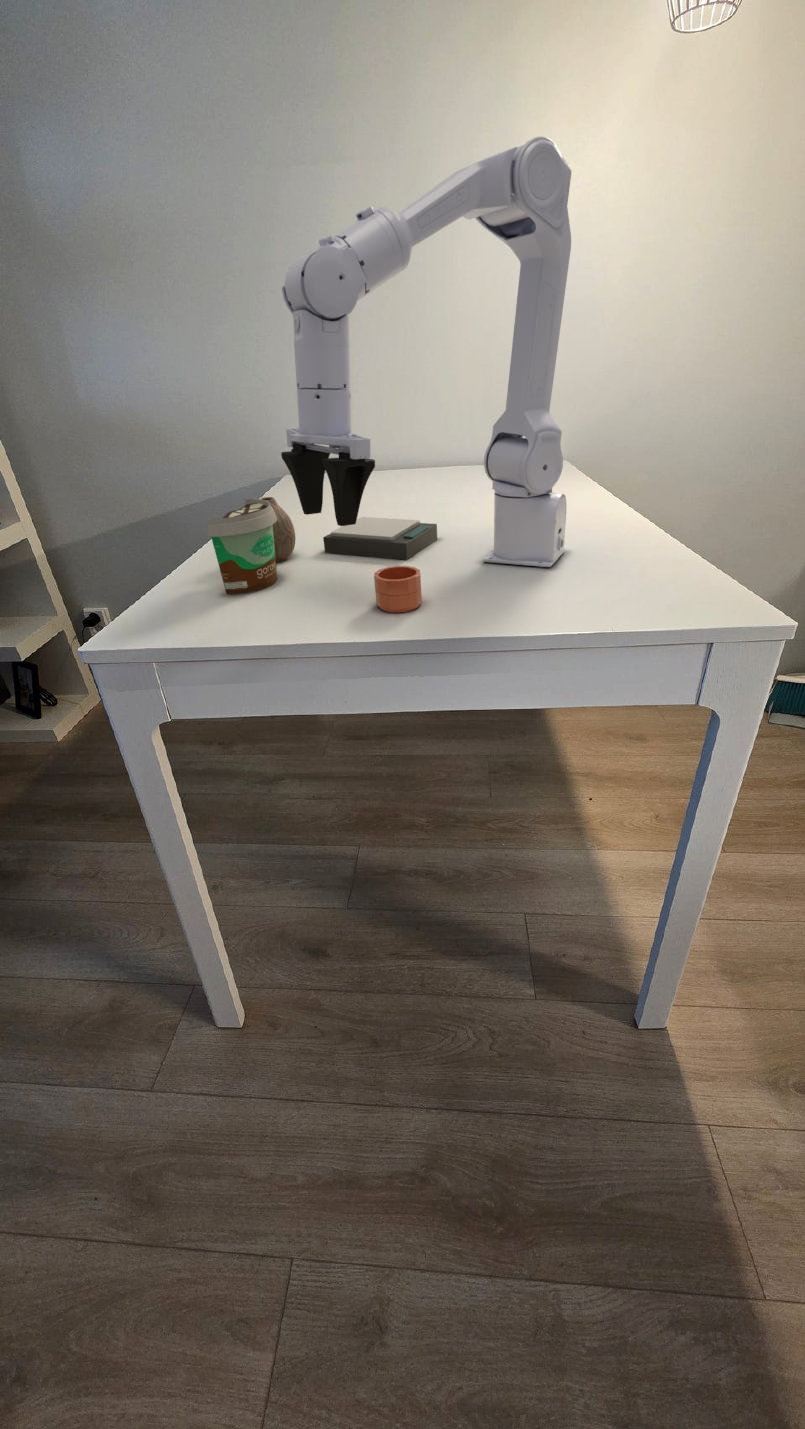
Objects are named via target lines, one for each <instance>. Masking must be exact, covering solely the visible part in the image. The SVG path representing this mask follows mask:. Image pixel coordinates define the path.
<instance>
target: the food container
mask: <svg viewBox="0 0 805 1429" xmlns="http://www.w3.org/2000/svg"><path fill="white" fill-rule="evenodd" d="M243 500H244V506H242V507H241V508H239V509H236V510H235V509H234V510H231V511H228V512H227V513H226V514H225V515H224V516H223V517H220V518H207V519H206V522H207V525H206V528H207V538H211V542H212V545H213V549H214V553H215V556H216V561H217V564H218V569H219V571H220V576H221V580H222V582H223V587H224V590H225V594H226V595H242V594H249V593H254V592H259V591H261V590H264V589H267V588H269V587H271V586H273V585H274V584H276V582H277V581H278V573H277V562H276V559H275V548H274V537H273V525H272V524H274V523H275V522H276V521H277V518H276V515H275V512H274V510H273V507H272V506H270V503H269V502H268V501H266V500H262V499H260V498H246V497H245V498H244V499H243Z"/></svg>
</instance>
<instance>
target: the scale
mask: <svg viewBox="0 0 805 1429" xmlns="http://www.w3.org/2000/svg"><path fill="white" fill-rule="evenodd" d="M322 540H323V547H324V553H325V554H333V555H335V554H336V555H345V556H346V555H347V556H358V557H369V558H382V559H391V560H392V559H393V560H402V561H404V560H405V561H408V560H409V559H410V558H412V557H414V556H415V555H417V554H418V553H419V552H421V551H423V550H424V549H425V548H426V547H428V546H429V545H432V544H433V543H435V541H437V540H438V524H437V523H428V522H420V519H407V518H406V519H404V518H385V517H373V516H372V517H371V516H361V517H359V518H357V520H356V524H353V525H346V526H340V527H338V528H337V529H335V530H333V531H330V533H329V534H327V535H325V536H323V537H322Z"/></svg>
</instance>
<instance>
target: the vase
mask: <svg viewBox="0 0 805 1429" xmlns="http://www.w3.org/2000/svg"><path fill="white" fill-rule="evenodd" d="M259 499H262V500H266V501H268V502H269V503H270V506H272V507H273V510H274V512H275V515H276V518H277V521H276V522H275V523H274V524H272V525H273V537H274V548H275V559H276V563H278V562H282V561H286V560H287V559H289V557H291V555H292V554H293V552H294V550H295V546H296V531H295V526H294V524H293V521H292V519H291V517H290V516H289V514H288V513H287V512H286V511H285V510H284V509H283V507H281V506H280V505H279V504H278V501H277V500H276V498H274V497H273V496H264V497H260V498H259Z"/></svg>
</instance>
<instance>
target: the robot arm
mask: <svg viewBox="0 0 805 1429" xmlns="http://www.w3.org/2000/svg"><path fill="white" fill-rule="evenodd" d="M571 180H572V169H571V167H570V165H569V163H568V162H567V160H566V159H565V157H564V155H563V153H562V152H561V150H560V148H559V147H558V145H557V143H555V141H553V140H552V139H551V138H548V137H546V136H543V135H541V136H536V137H533V138H531V139H529V140H526V142H525V143H524V144H522V145H519V146H514V147H511V148H509V149H506V150H503V151H501V152H498V153H496V154H493V155H491V156H488V157H485V158H483V159H481V160H478V161H476V162H473V163H472V164H469V165H467V166H465V167H462V168H460V169H458V170H456V171H454V172H453V173H452V174H450V175H449V176H448V177H446V178H444V180H442V181H441V182H439V183H438V184H436V185H435V186H433V187H432V188H431V189H430V190H428V191H427V192H425V193H424V194H422V195H421V196H420V197H419V198H417V199H416V200H414V201H413V202H411V203H410V204H408V206H406V207H405V208H403V209H402V210H400V211H399V212H396V211H394V210H392V209H389V208H387V207H384V206H379V207H377V208H375V209H373V208H374V207H373V206H372V205H368V206H365V207H364V208H363V209H361V210H359V211H358V212H356V214H355V217H356V219H357V221H356V222H354V223H353V224H351V225H350V226H348V227H347V228H345V229H344V230H342V231H340V232H339V233H337V234H336V235H334V236H332V234H331V233H327V234H325V235H323V237H321V238H319V240H318V245H319V247H318V248H317V249H316V250H315V251H313V252H310V253H307V254H303V255H302V256H299V257H297V258H296V259H295V260H293V262H291V264H290V265H289V267H288V271H287V272H286V274H285V279H284V285H283V286H282V287H281V294H282V297H283V301H284V303H285V305H286V307H287V309H288V311H289V312H290V313H291V314H292V319H293V320H292V321H293V336H294V337H293V347H294V362H295V381H296V383H295V384H296V395H297V397H296V398H297V413H298V414H297V415H298V428H286V430H285V431H286V432H285V433H286V445H287V446H286V447H288V448H291V449H290V450H289V451H281V452H280V456H281V459H282V461H283V463H284V464H285V466H286V467H287V469H288V471H289V473H290V475H291V477H292V480H293V483H294V485H295V488H296V492H297V495H298V498H299V502H300V506H301V510H302V512H303V514H304V515H307V516H308V515H315V514H321V513H322V510H323V502H324V481H325V480H324V479H325V474H326V475H327V478H328V480H329V484H330V488H331V494H332V499H333V507H334V508H333V510H334V516H335V520H336V523H337V524H336V525H337V526H339V527H343V526H346V525H353V524H356V520H357V519H358V516H359V511H360V506H361V502H362V498H363V494H364V491H365V489H366V485H367V483H368V481H369V480H370V479H369V478H370V476H371V475H372V472H373V471H374V469H375V468H376V460H375V459H373V458H371V438H369V437H368V438H367V437H363V436H361V435H358V434H356V433H353V432H352V397H351V396H352V395H351V393H352V392H351V357H350V356H351V355H350V354H351V352H350V325H349V324H350V321H349V320H350V318H349V316H350V314H351V313H352V312H353V311H354V309H355V307H356V306H357V302H358V301H360V300H361V299H363V298H364V297H366V296H368V295H369V294H370V293H372V292H373V291H375V290H377V288H379V287H381V286H383V284H385V283H387V282H388V281H389V280H391V279H393V278H394V277H396V276H397V275H399V274H400V273H401V272H403V271H404V270H406V269H407V268H408V266H409V263H410V260H411V256H412V250H413V247H415V246H416V245H418V244H420V243H421V242H423V241H424V240H426V239H428V238H430V237H432V236H433V235H434V234H436V233H437V232H439V231H441V230H443V229H444V228H446V227H448V226H449V225H452V223H454V222H456V221H457V220H459V219H461V218H464V219H465V220H472V219H475V220H476V221H477V223H479V224H480V225H481V226H482V227H483V228H484V229H485V230H487V231H488V232H490V233H491V234H492V235H493V236H494V237H496V238H497V239H499V240H500V241H501V242H502V243H504V244H505V245H507V246H508V247H509V248H510V250H511V251H512V253H513V254H514V255H515V257H516V258H517V259H518V260H519V262H520V263H519V264H520V267H519V276H518V287H517V296H516V305H515V314H514V315H515V316H514V324H513V333H512V335H513V337H512V346H511V352H510V353H511V355H510V364H509V374H508V382H507V392H506V402H505V410H504V411H503V413H502V414H501V415H500V417H498V419H497V420H496V421H495V423H494V424H493V426H492V433H491V438H490V441H489V444H488V445H487V448H486V450H485V453H484V457H483V468H484V473H485V475H486V477H487V478H488V479H489V480H490V481H491V482H492V488H491V489H492V490H494V492H493V493H494V496H493V497H494V498H493V499H494V501H493V504H494V505H493V507H494V508H493V550H492V551H491V552H489V553H488V554H486V556H485V557H484V558H483V562H484V563H495V564H507V565H516V566H517V565H519V566H530V567H542V568H551V567H552V566H553V565H554V564H555V562H557V561H558V559H559V558H560V557H561V556H562V555H563V553H564V552H565V551H566V548H565V536H566V522H567V498H566V495H565V494H564V493H561V492H553V488H554V486H556V484H557V483H558V481H559V479H560V478H561V475H562V472H563V468H564V456H563V453H562V448H561V447H562V444H561V440H562V433H563V432H562V430H561V428H560V426H559V425H558V424H557V422H556V421H555V419H554V418H553V416H552V414H551V413H550V409H551V402H552V394H553V386H554V378H555V373H556V372H555V371H556V364H557V356H558V350H559V341H560V335H561V334H560V333H561V325H562V318H563V311H564V305H565V304H564V302H565V295H566V287H567V281H568V274H569V264H570V258H571V249H572V232H571V225H570V216H569V208H568V202H569V196H570V189H571V188H570V187H571ZM331 454H333V455H337V456H338V457H330V455H331Z"/></svg>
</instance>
